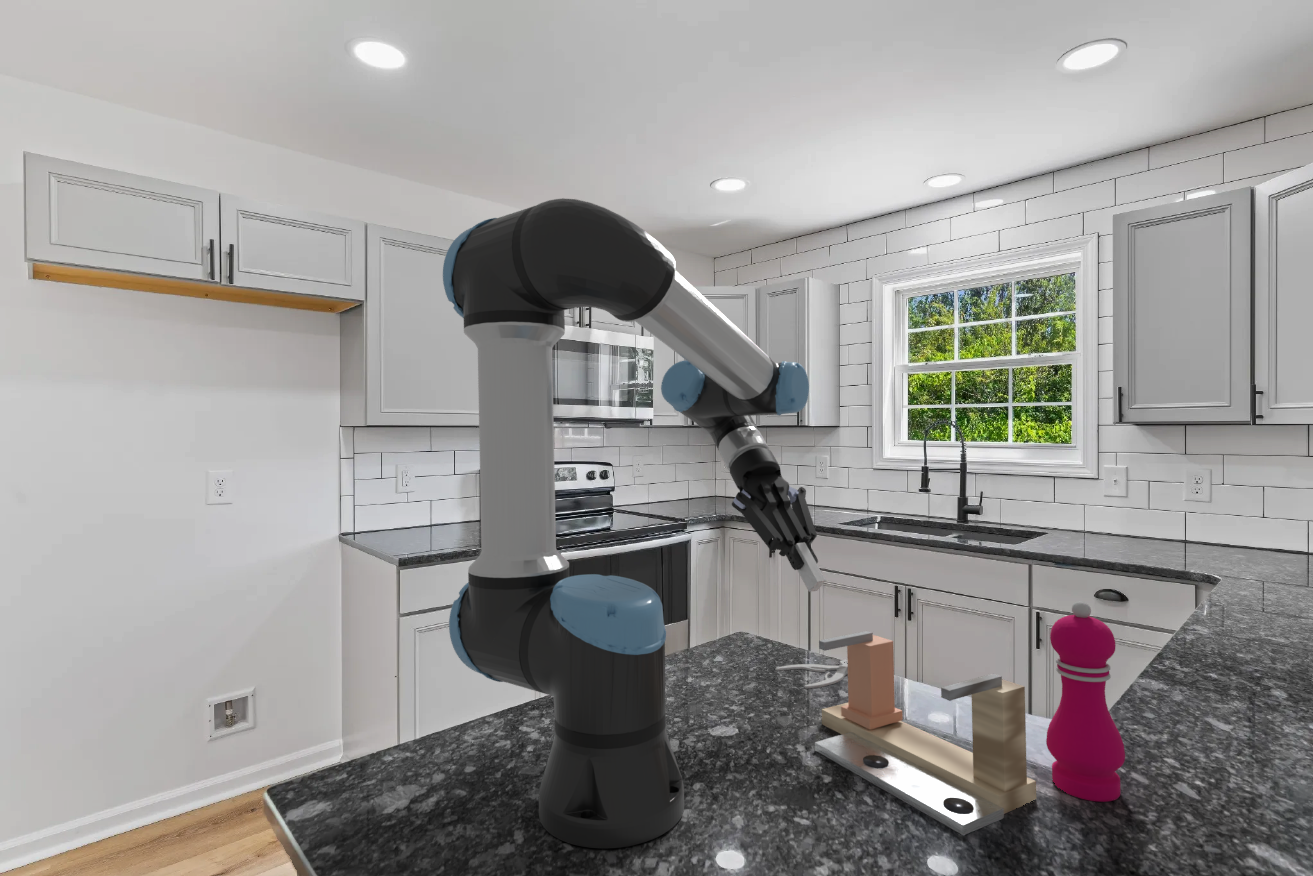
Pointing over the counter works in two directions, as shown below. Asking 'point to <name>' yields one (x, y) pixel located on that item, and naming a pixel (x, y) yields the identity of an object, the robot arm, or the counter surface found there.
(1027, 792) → the rail
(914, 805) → the hole plate
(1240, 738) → the counter surface
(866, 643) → the slide leg
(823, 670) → the pliers
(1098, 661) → the pepper mill
